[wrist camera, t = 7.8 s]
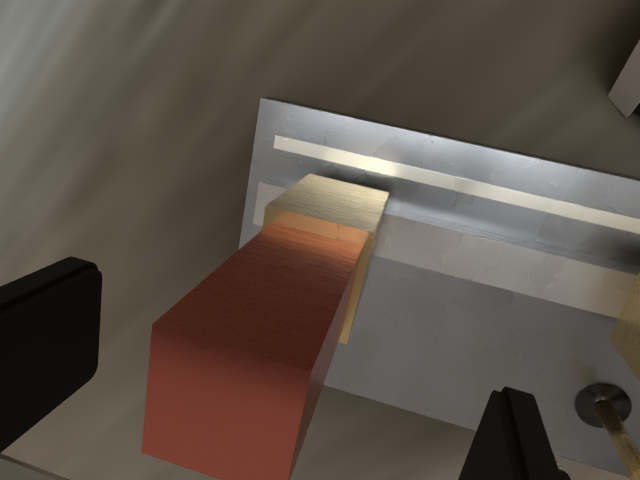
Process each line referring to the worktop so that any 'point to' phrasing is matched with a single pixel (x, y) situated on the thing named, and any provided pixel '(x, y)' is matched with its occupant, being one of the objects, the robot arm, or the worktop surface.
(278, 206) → the block
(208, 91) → the worktop surface
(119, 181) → the worktop surface
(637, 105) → the grey stapler
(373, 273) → the gauge plate
